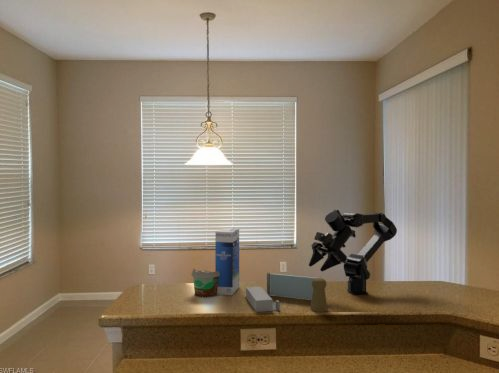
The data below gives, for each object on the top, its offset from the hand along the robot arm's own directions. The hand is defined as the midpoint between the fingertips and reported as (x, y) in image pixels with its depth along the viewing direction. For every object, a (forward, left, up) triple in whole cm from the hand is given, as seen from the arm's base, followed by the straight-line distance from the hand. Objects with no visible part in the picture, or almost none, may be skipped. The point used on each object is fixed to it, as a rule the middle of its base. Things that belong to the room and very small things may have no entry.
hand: (315, 268), depth 150 cm
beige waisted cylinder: (+3, +12, -12) cm, 17 cm away
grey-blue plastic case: (+21, 0, -12) cm, 24 cm away
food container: (+42, -14, -12) cm, 46 cm away
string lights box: (+31, -19, -12) cm, 39 cm away
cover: (+7, -3, -12) cm, 14 cm away
